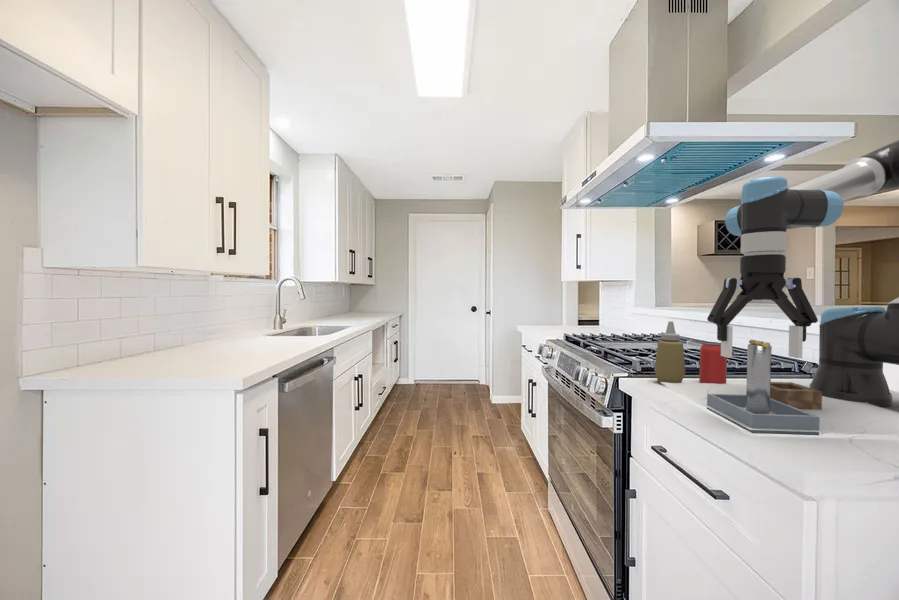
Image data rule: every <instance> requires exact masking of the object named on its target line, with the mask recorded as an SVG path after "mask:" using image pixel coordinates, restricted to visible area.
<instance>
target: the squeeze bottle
mask: <svg viewBox="0 0 899 600" xmlns="http://www.w3.org/2000/svg"><path fill="white" fill-rule="evenodd" d="M680 339H681V336H680V333H679V334H678V333H676V330H675V324H674V321H668V322H667V327H666V331H665V333H664V332H663V333H661V340H659V341H658V342H657V348H656V355H655V360H654V362H655V363H654V368H653V369H654V373H655V376H656V379H657V382H658V383H660V384H661V383H677V384H678V383H679V384H681V383H682V382H683V379H684V377H685V375H686V362H685V353H684V352H685V351H684V350H685V349H684V343H683V342H682V341H680Z"/></svg>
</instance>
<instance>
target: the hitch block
mask: <svg viewBox="0 0 899 600" xmlns="http://www.w3.org/2000/svg"><path fill="white" fill-rule="evenodd" d="M770 398H771V399H774V400H776V401H779V402H782V403H784V404H787V405H790V406H792V407H795V408H797V409H800V410H812V411H813V410H814V411H815V410H816V411H817V410H819V411H821V410H822V409H823V408H822V406H823V396H822V391H818V390H815V389H812V388H809V386H805V385H803V384H802V385H801V384H799V383H796V382H795V383H794V382H792V381H791V382H790V381H789V382H787V381H785V382H783V381H782V382H781V381H771V385H770Z"/></svg>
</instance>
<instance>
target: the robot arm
mask: <svg viewBox="0 0 899 600" xmlns="http://www.w3.org/2000/svg"><path fill="white" fill-rule="evenodd" d="M741 189H742V190H741V197H740V198H741V199H740V205H737V206H735V207H732V208H731V209H730V210H729V211H728V212H727V213H726V216H725V219H724V224H725V228H726V230H727V231H728V232H729V233H730V234H731V235H733V236H736V237H737V236H738V237H740V253H741V255H742V256H741V258H739V260H740V263H739V264H740V265H739V272H740V278H739V279H737V278H736V277H731V278H730V277H728V278H727V277H726V278H725V279H724V281H723V286H722V287H723V288H722V290H721V292H720V294H719V295H718V298H717V299H716V301H715V303H714V305H713V306H712V309H711V310H710V313H709V314H708V317H707V318H706V319H707V322H708V323H709V322H710V323H713V324H714V325H716V327H717V328H716V331H717V332H716V339H717V341H720V343H721V356H723V357H727V359H732V358H733V326H732V325H729V324H730V323H731V322H732V321H733V320H734V319H735V318H736V316H737V315H739V313H740V312H741V311H742V310H743V309H744V308H745V307H746V305H747V304H748V303H750V302H751V301H753V300H757V301H759V300H760V301H761V300H762V301H763V300H765V301H769V300H770V301H772V302H774V303H775V304H776V305H777V306H778V308H779V309H780V310H781V311H782V312H783V313H784V315H786V316H787V318H788V319H789V320H790V321H791V322H792V325H791V324H790V325H788V357H790V358H794V359H803V345H804V344H803V342H806V340H807V327H811V325H812V324H816V323H817V322H819V321H818V320H819V319H818V317H817V315H816V313H815V310H813V306H812V305H811V303H810V301H809V299H808V297H807V295H806V293H805V292H804V289H803V284H802V279H801V278H800V277H788V278H787V279H785V276H784V274H785V273H786V263H787V262H786V261H787V260H786V259H787V256H786V255H784V254H783V253H785V252H787V230H792V229H798V228H811V229H814V228H820V227H821V228H822V227H827V226H831V225H833V224H834V223H837V221H838V220H839V219H840V218H841V215H842V214H843V212H844V201H846V200H849V199H851V198H855V197H856V196H858V197H866V196H867V197H868V196H870V195H873V194H877V193H879V192H884V191H890V190H895V189H899V139H898V140H896V141H893V142H891V143H889V144H886V145H884V146H881V147H880V148H877V149H875V150H873V151H870V152H868V153H866V154H864V155H861V156H859V157H857V158H855V159H851V160H850V161H849V162H847V163H846V164H845V165H844V166H843V167H842V168H839V169H836V170H834V171H832V172H829V173H827V174H826V173H825V174H824V175H821V176H818V177H816V178H812V179H811V180H808V181H805V182H802V183H800V184H797V185H794V186H792V187H789V185H788V180H787V178H786V177H784V176H780V175H778V176H777V175H775V176H774V175H773V176H763V177H758V178H754V179H750V180H747V182H745V183H744V184H743V186H742V187H741ZM739 287H740V288H741V291H740V292H739V293H738V294H737V295H736V298H735V299H734V301H733V302H732V303H730V302H731V300H732V299H733V297H734V295H735V293H736V291H737V289H738V288H739ZM784 288H785V289H787V292H788V295H789V296H790V298H791V299H792V302H791V300H789V299H790V298H788V295H787V294H786V293H785V292H784V291H783V289H784ZM818 326H819V346H818V347H819V348H818V349H819V351H818V357H819V358H818V367H817V369H816V371H815V373H814V375H813V377H812V380H811V382H810V383H809V386H808V387H809V388H812V389H815V390H818V391H822V397H826V398H830V399H834V400H840V401H841V400H842V401H847V402H854V403H864V404H869V405H871V406H872V405H873V406H876V407H879V408H881V407H884V408H885V407H891V406H893V394H892V392H890V388H889V384H888V381H887V380H886V377H885V375H884V364H889V365H890V364H891V365H897V366H899V296H898V297H897V298H895V299H893V300H891V301H890V302H888V303H887V308H885V307H883V306H854V307H853V306H852V307H835V308H828V309H825V310H824V311H823V312H822V313H821V315H820V323H819V325H818Z"/></svg>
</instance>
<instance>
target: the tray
mask: <svg viewBox="0 0 899 600" xmlns="http://www.w3.org/2000/svg"><path fill="white" fill-rule="evenodd" d="M706 395H707V396H706V406H709V407H710V408H709V407H706V409H707V410H708V411H710V412H712V413H714V414H716V415H717V416H719V417H721V418H723V419H724V420H727V421H729V422H730V423H732V424H735V425H736V426H738V427H740V428H742V429H743V430H745V431H747V432H749V433H750V434H764V435H765V434H766V435H770V434H771V435H792V436H793V435H794V436H795V435H798V436H800V435H802V436H820V432H819V431H820V418H821V416H818V415H816V414H812V413H811V412H808V411H804V409H797V408H795V407H792V406H790V405H787V404H784V403H782V402H779V401H776V400H774V399H771V398H770V413H771V414H754V413H751V412H749V411H747V410H746V394H733V393H732V394H727V393H707V394H706ZM744 407H745V408H744ZM713 409H714V410H713ZM715 410H716V411H715ZM717 411H718V412H717ZM772 413H773V414H772ZM723 414H724V415H723ZM725 415H726V416H728V417H729V418H728V417H726V416H725ZM730 418H732V419H733V420H732V419H730ZM734 420H736V421H737V422H736V421H734ZM738 422H740V423H742V424H743V425H742V424H740V423H738ZM744 425H745V426H747V427H749V428H751V429H749V428H747V427H745V426H744ZM763 429H764V430H763ZM765 429H767V430H765ZM795 430H796V431H795Z"/></svg>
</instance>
